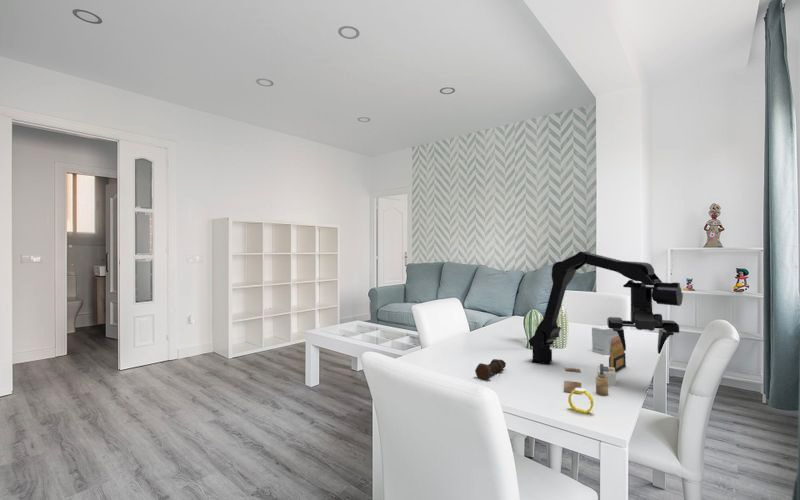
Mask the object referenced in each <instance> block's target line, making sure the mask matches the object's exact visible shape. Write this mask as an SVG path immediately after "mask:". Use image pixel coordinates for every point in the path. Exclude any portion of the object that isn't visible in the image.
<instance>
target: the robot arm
mask: <svg viewBox="0 0 800 500" xmlns="http://www.w3.org/2000/svg"><path fill="white" fill-rule="evenodd" d="M585 265H590V266H592V267H593V266H594V267H596V268H601V269H605V270H608V271H612V272H615V273H618V274H620V275H622V276H623V277H625V278H628V279H629V280H628V281H627V282H626V283H625V284H623V285H622V286H623V288H629V289H630V320H624V319H623V318H622V317H615V316H609V317H607V318H606V321H607V323H606V325H608V328H612V329H613V331H617V333H618V335H619V337H620V340H621V343H622V346H623V348H624V351H626V350H627V345H626V339H625V332H624V331H625V330H624V327H626V328H627V327H630V328H635V329H636V330H638V331H639V330H640V331H642V330H644V331H645V330H646V331H647V330H648V331H654V330H655V329H658V335H657V336H658V339H657V353H658V355H659V354H661V352H662V349H663V348H664V345H665V343H666V341H667V340H668V338H669V337H670V336H674V335H675V334H680V324H678V323H677V322H676V321H674V320H666V319H663V315H662V314H661V313H654V312H653V301H654V302H655V303H656V304H658V305H667V306H678V307H680V306H682V303H683V292H682V288H681V286H680V285H681V283H680V282H662V280H661V279H660V278H659V276H658V275H657V274H656V272H655V268H654V267H653V265H652V264H650V263H649V262H645V261H644V262H642V261H641V262H640V261H629V260H628V261H626V260H620V259H616V258H611V257H609V256H604V255H599V254H595V253H593V252H592V253H591V252H590V251H579V252H577V253H576V254H574V255H573V256H570V257H567V258H566V259H564V260H561V261H560V260H559V261H556V262H555V263H554V264H553V265H552V267H551V280H552V287H551V290H550V294H549V297H548V301H547V304H546V309H545V311H544V316H543V319H542V320H541V322H539V323H538V325H537V327H536V329H535V331H534V335H533V336H531V338H529V339H528V344H529V346H530V347H532V359H531V363H537V364H545V365H547V364H548V365H551V362H552V361H553V349H552V348H551V345H553V344H554V343H555V342H554V341H556V340H557V338H560V332H561V329H562V327H561V326H558V318H559V315H560V311H561V308H562V304H563V300H564V297H565V293H566V289H567V287H568V285H569V284H570V282H571V281H572V280H573V278H574V276H575V274H576V271H578V270H579V269H582V267H583V266H585Z"/></svg>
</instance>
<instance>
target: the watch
mask: <svg viewBox="0 0 800 500" xmlns="http://www.w3.org/2000/svg"><path fill="white" fill-rule="evenodd" d="M575 392H576V393H580V394H579V395H582V394H583V395H585V396H586V397H587V398H588V399H589V402H590V407H589V409H587V410H585V409H581V408H577V407H576V406H575V405H574V404H573V402H572V395H573V394H575ZM567 401H568V405H569V407H570V408H571V409H572V410H573V411H575V412H578V413H584V414H588V413H590V412H591V411H592V409H593V408H594V399H593V397H592V396H591V394H590V393H589V392H588V391H587V389H585V388H583V387H582V388H575V390H573V391H572V392H571V393H569V395H568V399H567Z"/></svg>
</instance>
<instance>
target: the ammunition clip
mask: <svg viewBox="0 0 800 500" xmlns="http://www.w3.org/2000/svg"><path fill="white" fill-rule="evenodd" d="M626 362H627V361H626V352H625V351H624V348H623V346H622V343H621V340H620V337H619V336H616V337H614V338H612V339H611V346H610V354H609V357H608V367H613V368H615V372H616V373H617V372H619V371H621V370H623V369H625V368H626V366H627V365H626V364H627V363H626Z"/></svg>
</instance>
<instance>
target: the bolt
mask: <svg viewBox="0 0 800 500" xmlns="http://www.w3.org/2000/svg"><path fill="white" fill-rule="evenodd" d="M506 365H507V363H506V361H504V360H503V359H497V358H496V359H495V358H493V359H491V361H490V363H488V364H486V363H478V364H477V366H476V368H475V370H474V372H475V376H476V377H477V379H479V380H482V379H484V380H483V381H489V380H488V379H491V376H492V374H494V373H497V374H500V373H502V371H503V370H504V368H506V367H507V366H506Z"/></svg>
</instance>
